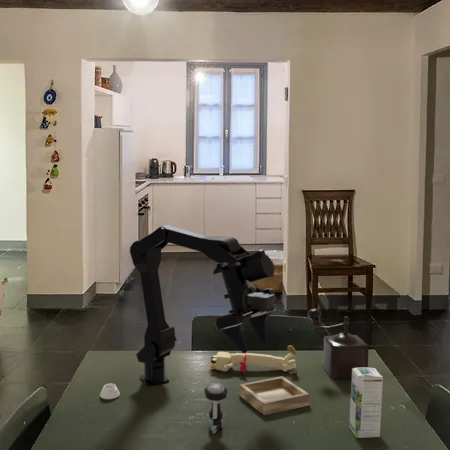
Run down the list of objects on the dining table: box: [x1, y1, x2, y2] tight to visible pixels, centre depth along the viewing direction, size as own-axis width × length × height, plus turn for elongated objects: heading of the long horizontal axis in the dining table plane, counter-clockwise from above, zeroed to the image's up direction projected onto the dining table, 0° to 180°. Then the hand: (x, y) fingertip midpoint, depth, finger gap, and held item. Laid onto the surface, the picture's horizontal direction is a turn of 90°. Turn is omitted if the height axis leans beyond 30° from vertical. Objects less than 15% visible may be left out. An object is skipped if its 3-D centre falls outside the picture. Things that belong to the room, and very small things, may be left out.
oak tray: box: [239, 376, 310, 416], centre depth 158 cm, size 13×13×3 cm
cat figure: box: [208, 344, 297, 375], centre depth 179 cm, size 10×9×25 cm
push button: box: [203, 382, 229, 434], centre depth 143 cm, size 7×5×10 cm
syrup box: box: [349, 366, 384, 439], centre depth 141 cm, size 6×6×14 cm
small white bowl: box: [99, 383, 121, 400], centre depth 161 cm, size 5×3×5 cm
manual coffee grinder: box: [307, 308, 369, 380], centre depth 177 cm, size 16×11×18 cm
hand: (255, 347), depth 153 cm, fingers open, 9 cm apart
